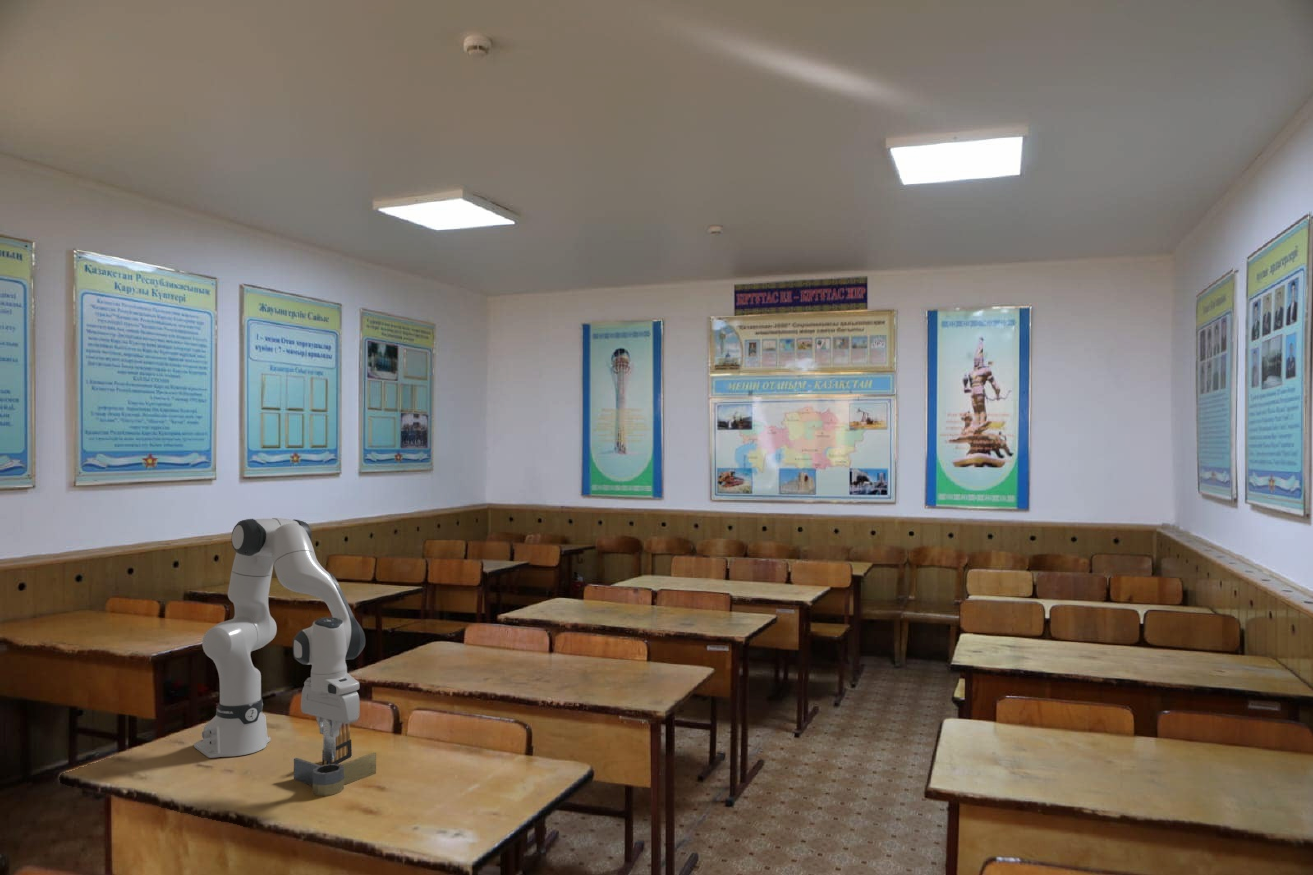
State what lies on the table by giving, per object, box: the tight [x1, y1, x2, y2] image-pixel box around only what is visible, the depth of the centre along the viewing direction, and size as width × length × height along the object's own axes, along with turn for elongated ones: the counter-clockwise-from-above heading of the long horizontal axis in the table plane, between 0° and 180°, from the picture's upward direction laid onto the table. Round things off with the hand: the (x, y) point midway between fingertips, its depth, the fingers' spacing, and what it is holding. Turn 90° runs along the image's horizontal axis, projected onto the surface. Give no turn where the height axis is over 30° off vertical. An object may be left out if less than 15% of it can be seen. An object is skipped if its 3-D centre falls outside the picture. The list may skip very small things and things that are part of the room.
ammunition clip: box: [321, 723, 353, 766], centre depth 243 cm, size 11×2×12 cm, turn 163°
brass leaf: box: [312, 752, 377, 797], centre depth 227 cm, size 7×18×6 cm, turn 146°
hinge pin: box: [322, 718, 336, 761], centre depth 223 cm, size 3×3×12 cm
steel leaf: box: [293, 757, 344, 787], centre depth 226 cm, size 18×7×6 cm, turn 56°
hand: (329, 734), depth 223 cm, fingers closed on hinge pin, 3 cm apart
